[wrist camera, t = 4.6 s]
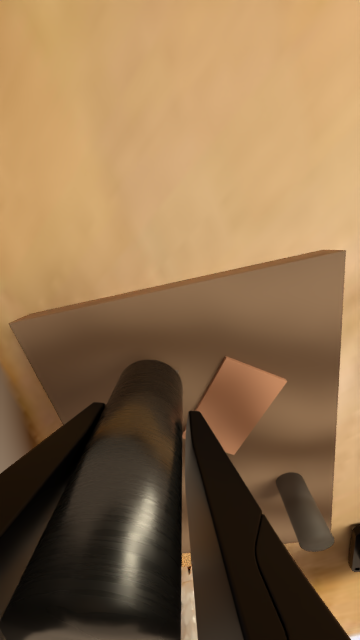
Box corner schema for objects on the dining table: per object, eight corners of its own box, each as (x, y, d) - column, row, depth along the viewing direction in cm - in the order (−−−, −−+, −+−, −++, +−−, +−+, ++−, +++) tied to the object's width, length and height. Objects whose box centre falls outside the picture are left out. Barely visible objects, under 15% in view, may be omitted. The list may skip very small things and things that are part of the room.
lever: (169, 558, 16) (158, 795, 9) (124, 555, 16) (80, 790, 9) (193, 346, 10) (218, 605, 3) (118, 340, 10) (-52, 587, 3)
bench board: (318, 515, 17) (361, 602, 13) (139, 534, 19) (126, 618, 14) (323, 249, 10) (424, 252, 6) (30, 314, 11) (-60, 353, 7)
